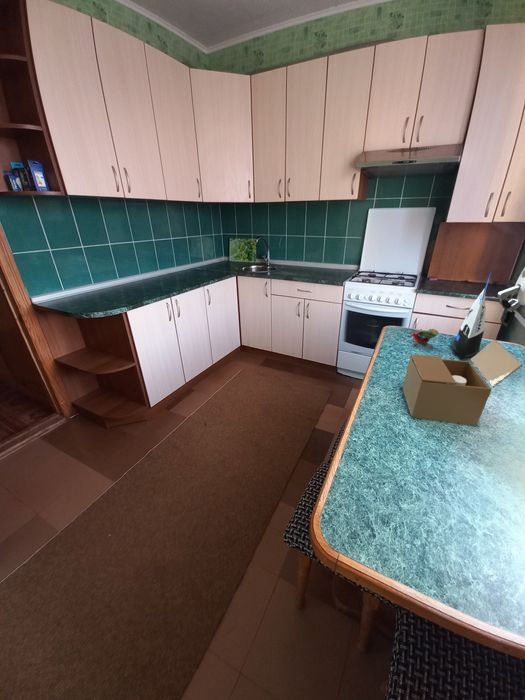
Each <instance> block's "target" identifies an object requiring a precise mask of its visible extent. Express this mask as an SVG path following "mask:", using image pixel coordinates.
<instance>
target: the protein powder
mask: <svg viewBox="0 0 525 700" xmlns="http://www.w3.org/2000/svg"><path fill="white" fill-rule="evenodd" d="M491 274H492V272H490V273H489V276H488V278H487V281H486V284H485V287H484V288H483V290H482V291H481V292H480V294H478V297H476V299H475V300H474V302H473V303H472V304H471V306H470V308H469V310H468V312H467V314H466V316H465V318H464V320H463V321H462V324H461V325H460V328H459V330H458V332H457V334H456V336H455V339H454V341H453V343H452V345H451V350H452V352H453V353H454V355H455V356H456V357H458V359H460V361H463V360H468V359H472V358H473V357H474V356H475V355H476V354H477V353H479V352H480V347H481V344H482V340H483V336H484V334H485V324H486V322H485V321H486V306H487V305H486V293H487V289H488V288H487V287H488V285H489V281H490V277H491Z"/></svg>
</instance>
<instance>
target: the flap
mask: <svg viewBox="0 0 525 700" xmlns="http://www.w3.org/2000/svg"><path fill="white" fill-rule="evenodd" d="M470 362H471V363H472V364H473V365H474V367H475V368H477V369H478V372H480V373H481V374H482V377H483V378H484V379H485V380H486V382H487V383H489V385H490V387H492V388H495V387H496V386H497V385H499V384H500V383H502V382H503V381H504V380H506V379H507V378H508V377H510V376H511V375H513V374H514V373H515V372H517V370H520V368H521V367H523V364H522V363H521V362H520V361H519V360H518V358H517V359H516V357H515V356H513V355H512V354H511V353H510V351H508V350H507V349H506V348H505V347H504V346H503V345H501V343H500V342H499V341H497V340H496V339H493V340H491V341H490V342H489V343H488V344H487V345H486V346H484V347H483V348H482V349H481V350H479V351H478V353H477V354H476V355H475V356H473V357H471V358H470Z"/></svg>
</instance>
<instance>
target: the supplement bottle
mask: <svg viewBox="0 0 525 700" xmlns="http://www.w3.org/2000/svg"><path fill="white" fill-rule="evenodd" d="M452 377H453V378H454V380H455V382H456V384H455V385H464V386H465V385H466V382H467V380H466V379H465V378H463V377H461V376H456V375H454V376H452ZM446 384H450V383H446Z"/></svg>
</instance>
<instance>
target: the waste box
mask: <svg viewBox="0 0 525 700" xmlns="http://www.w3.org/2000/svg"><path fill="white" fill-rule="evenodd" d="M479 372H480V371H479V370H477V369H476V366H475V365H474V364H473V362H472V361H469V360H457V359H446V358H442V357H441V356H438V355H437V356H436V355H427V354H426V355H424V354H415V353H414V354H413V353H411V354H410V356H409V360H408V364H407V368H406V372H405V376H404V380H403V384H402V391H403V395H404V398H405V401H406V404H407V407H408V410H409V412H410V416H411V418H415V419H422V420H423V419H424V420H431V421H439V422H447V423H453V424H455V423H456V424H462V425H469V426H477V425H478V423H479V420H480V418H481V416H482V414H483V412H484V409H485V407H486V404H487V402H488V399H489V397H490V394H491V393H492V390H493V389H492V388H491V385H490V384H488V382H487V380H486V379H485V378H484V376H483V375H481V374H480V373H479ZM454 375H456V376H461V377H463V378H465V379H466V380H467V382H466V385H465V386H464V385H455V384H456V382H455V380H454V378H453V377H452V376H454ZM446 383H450V384H446Z"/></svg>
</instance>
